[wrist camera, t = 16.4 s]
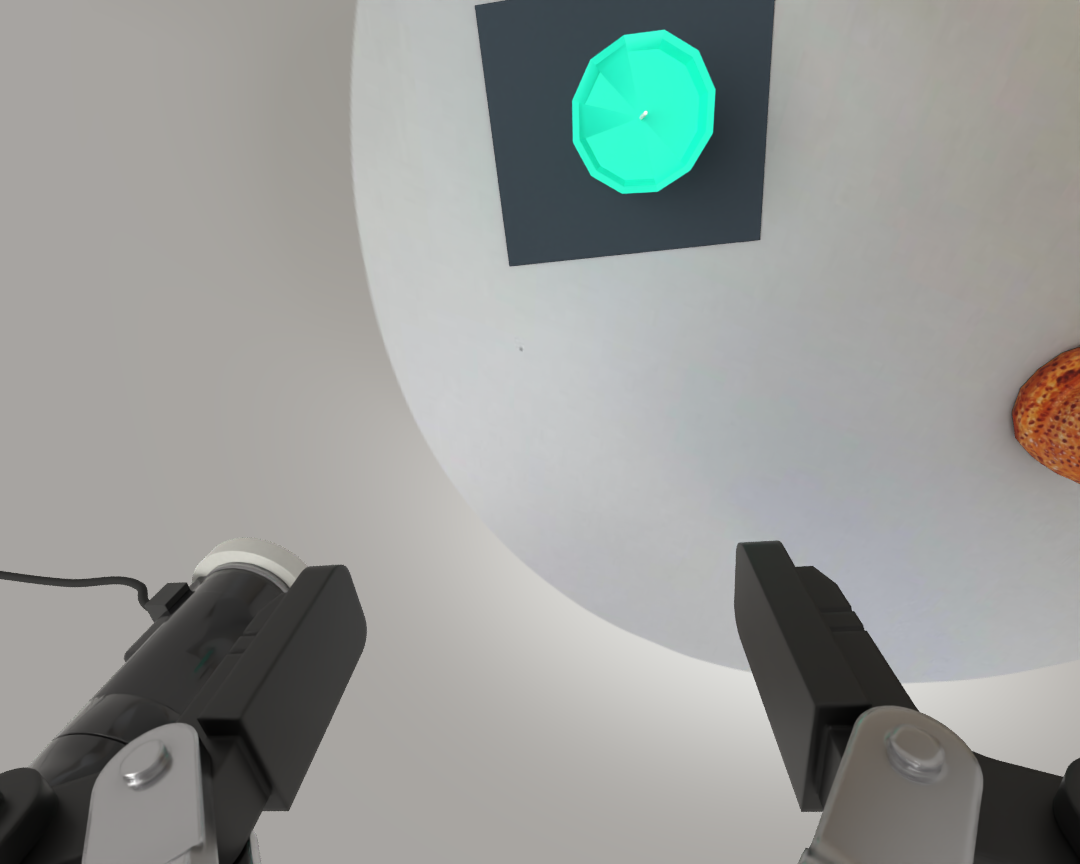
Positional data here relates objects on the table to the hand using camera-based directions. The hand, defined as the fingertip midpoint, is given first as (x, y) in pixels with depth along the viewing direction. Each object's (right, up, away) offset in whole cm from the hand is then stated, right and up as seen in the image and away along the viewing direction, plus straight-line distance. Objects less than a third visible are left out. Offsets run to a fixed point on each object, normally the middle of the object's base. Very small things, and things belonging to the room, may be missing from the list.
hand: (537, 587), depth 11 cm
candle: (+5, +21, +21) cm, 30 cm away
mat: (+5, +21, +21) cm, 30 cm away
